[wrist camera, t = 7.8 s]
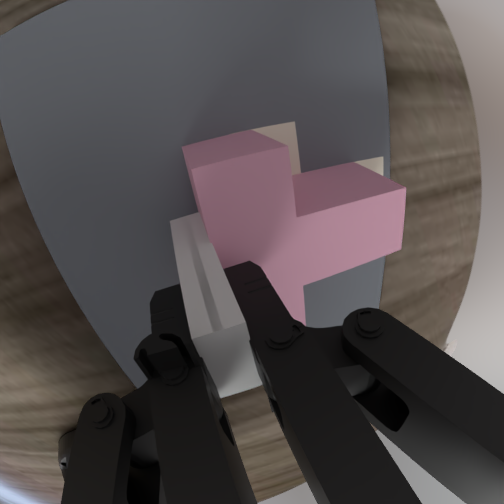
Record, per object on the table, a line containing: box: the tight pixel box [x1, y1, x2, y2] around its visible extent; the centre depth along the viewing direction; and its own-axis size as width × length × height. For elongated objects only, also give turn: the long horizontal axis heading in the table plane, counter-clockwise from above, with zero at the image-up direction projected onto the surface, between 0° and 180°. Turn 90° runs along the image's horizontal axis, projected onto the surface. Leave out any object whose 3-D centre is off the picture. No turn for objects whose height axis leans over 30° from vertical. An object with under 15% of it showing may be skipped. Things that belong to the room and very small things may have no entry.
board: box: [0, 0, 390, 389], centre depth 15 cm, size 18×24×1 cm
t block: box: [182, 130, 406, 326], centre depth 13 cm, size 8×8×4 cm
